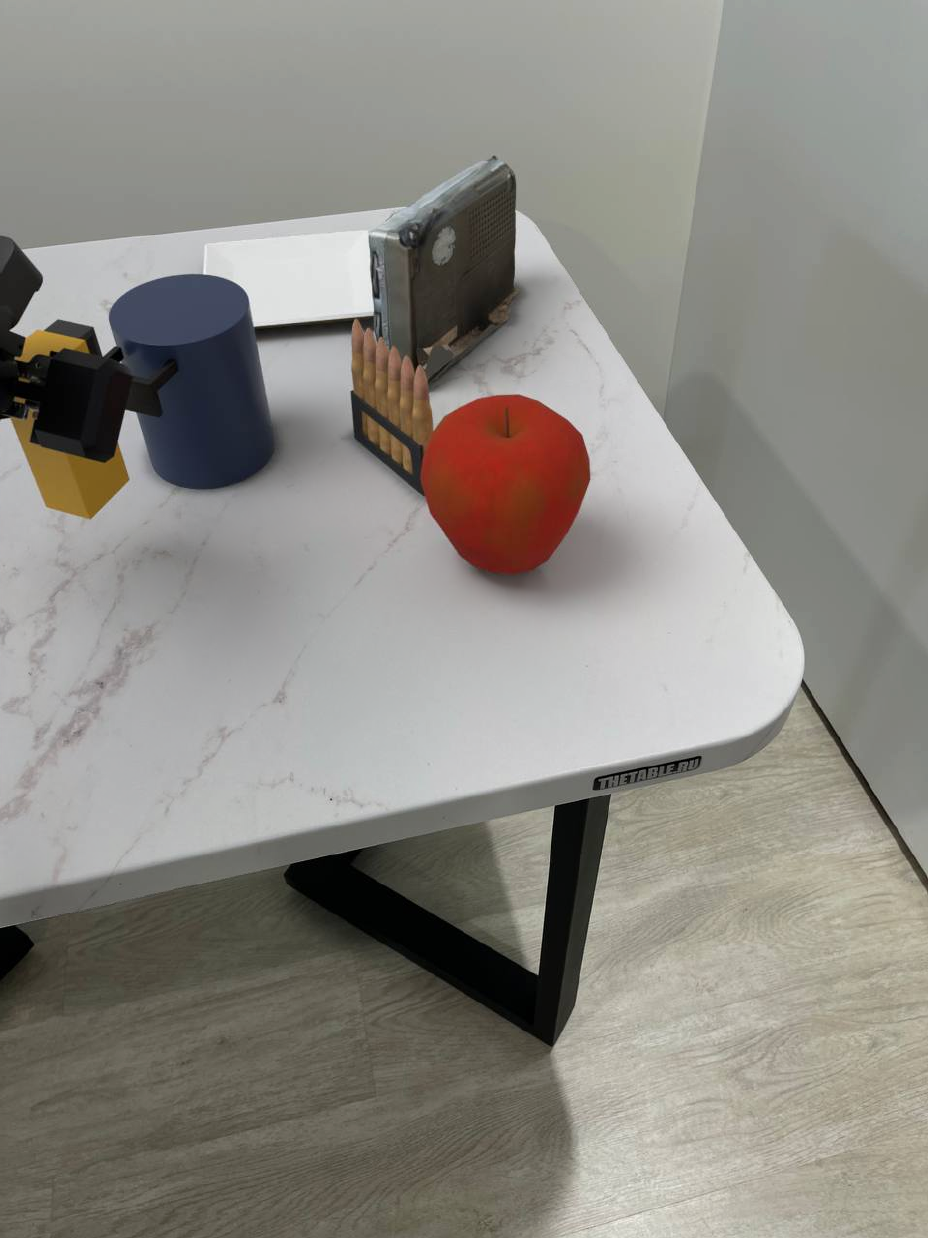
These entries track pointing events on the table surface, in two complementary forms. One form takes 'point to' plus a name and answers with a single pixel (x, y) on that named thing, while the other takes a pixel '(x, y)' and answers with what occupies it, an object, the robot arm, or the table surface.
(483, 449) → the apple
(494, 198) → the radio
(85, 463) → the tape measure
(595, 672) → the table surface
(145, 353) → the navy blue cylinder
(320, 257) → the plate
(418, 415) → the ammunition clip
